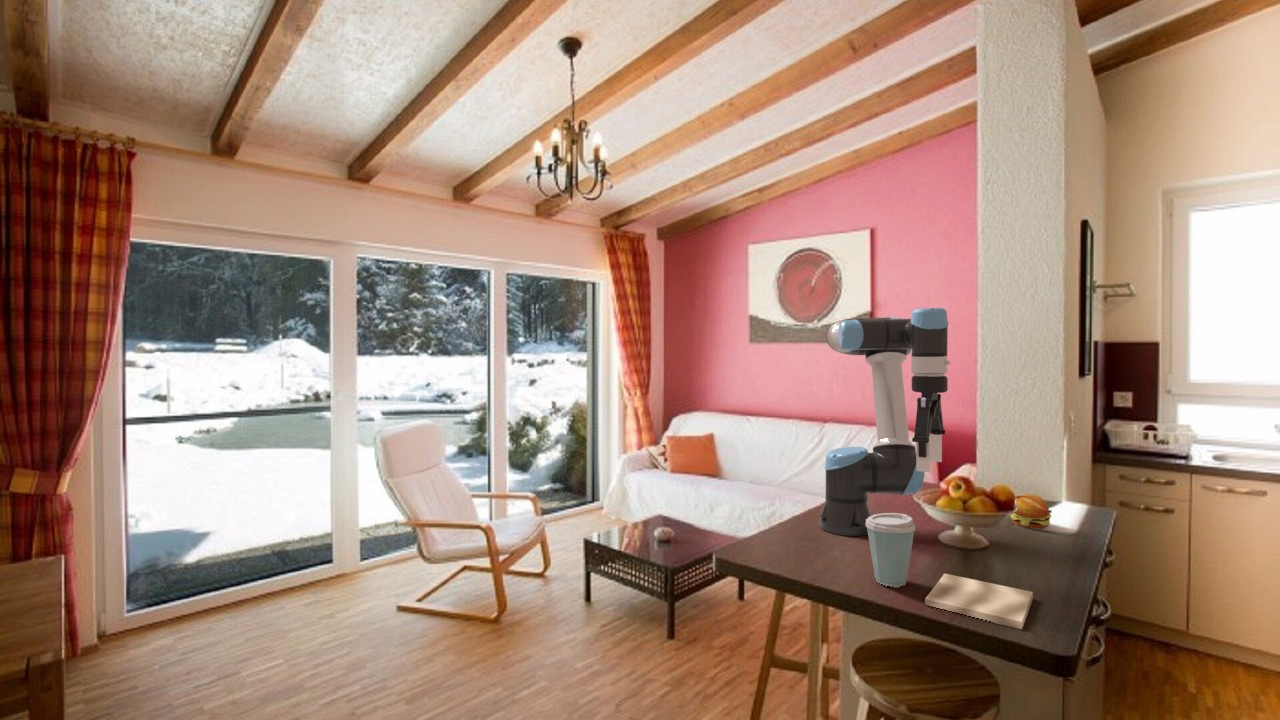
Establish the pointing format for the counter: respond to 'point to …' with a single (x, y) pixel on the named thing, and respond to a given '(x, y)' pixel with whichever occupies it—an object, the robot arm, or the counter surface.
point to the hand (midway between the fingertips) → (929, 466)
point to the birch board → (981, 600)
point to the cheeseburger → (1031, 512)
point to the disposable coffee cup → (890, 547)
